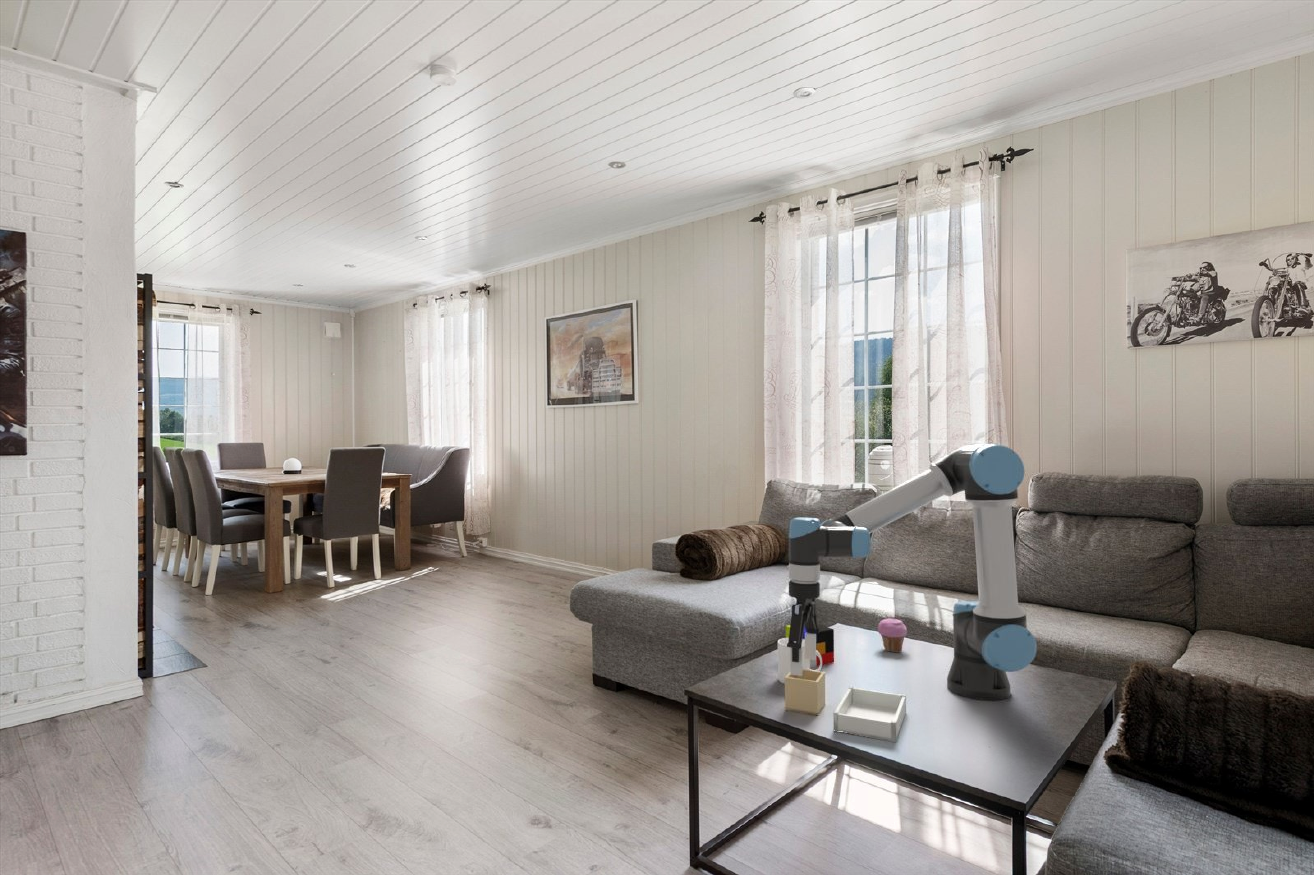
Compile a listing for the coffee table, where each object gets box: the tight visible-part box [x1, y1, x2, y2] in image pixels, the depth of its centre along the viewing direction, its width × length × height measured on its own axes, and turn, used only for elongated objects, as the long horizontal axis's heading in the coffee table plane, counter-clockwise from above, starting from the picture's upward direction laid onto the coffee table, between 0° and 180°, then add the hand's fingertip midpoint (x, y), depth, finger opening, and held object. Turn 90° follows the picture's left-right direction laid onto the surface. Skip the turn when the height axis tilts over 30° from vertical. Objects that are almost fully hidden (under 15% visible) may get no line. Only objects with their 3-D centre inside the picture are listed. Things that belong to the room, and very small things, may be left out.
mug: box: [777, 637, 823, 685], centre depth 189 cm, size 9×12×11 cm
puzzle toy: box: [785, 623, 835, 668], centre depth 206 cm, size 10×10×10 cm
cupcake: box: [877, 618, 908, 653], centre depth 216 cm, size 9×9×10 cm
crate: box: [833, 686, 907, 743], centre depth 161 cm, size 13×19×4 cm
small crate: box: [784, 669, 826, 717], centre depth 170 cm, size 8×8×8 cm
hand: (803, 666), depth 170 cm, fingers open, 13 cm apart
